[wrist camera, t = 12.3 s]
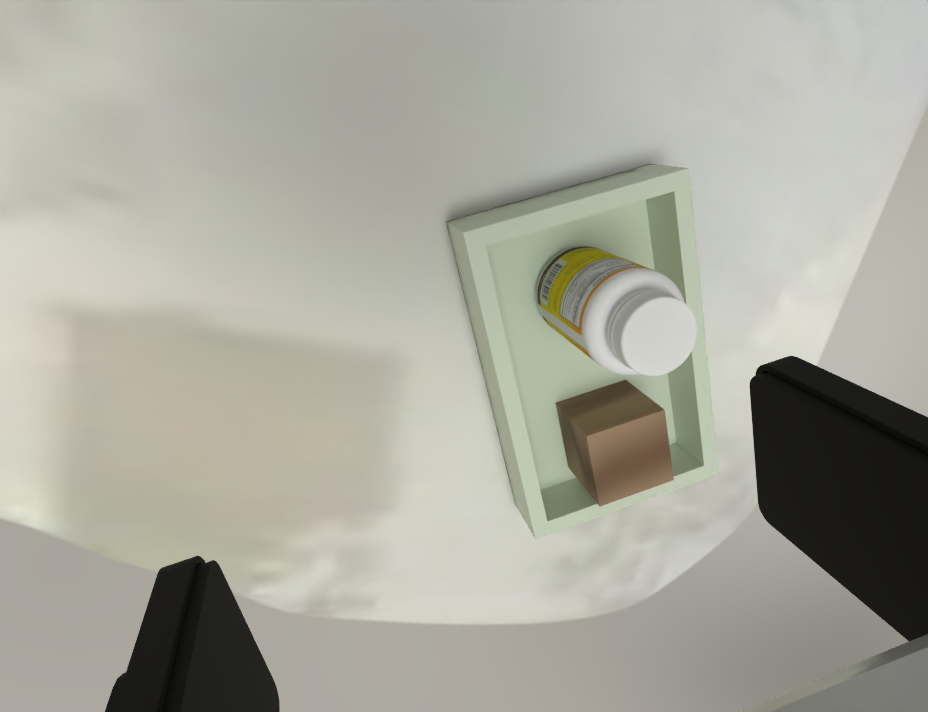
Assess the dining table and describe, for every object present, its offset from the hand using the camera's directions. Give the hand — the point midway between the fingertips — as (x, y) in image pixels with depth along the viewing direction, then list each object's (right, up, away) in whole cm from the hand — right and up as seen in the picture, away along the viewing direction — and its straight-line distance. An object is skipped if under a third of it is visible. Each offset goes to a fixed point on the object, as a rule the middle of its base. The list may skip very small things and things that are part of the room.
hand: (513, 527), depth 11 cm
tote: (+7, +4, +31) cm, 32 cm away
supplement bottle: (+6, +7, +29) cm, 31 cm away
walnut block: (+8, -2, +33) cm, 34 cm away
